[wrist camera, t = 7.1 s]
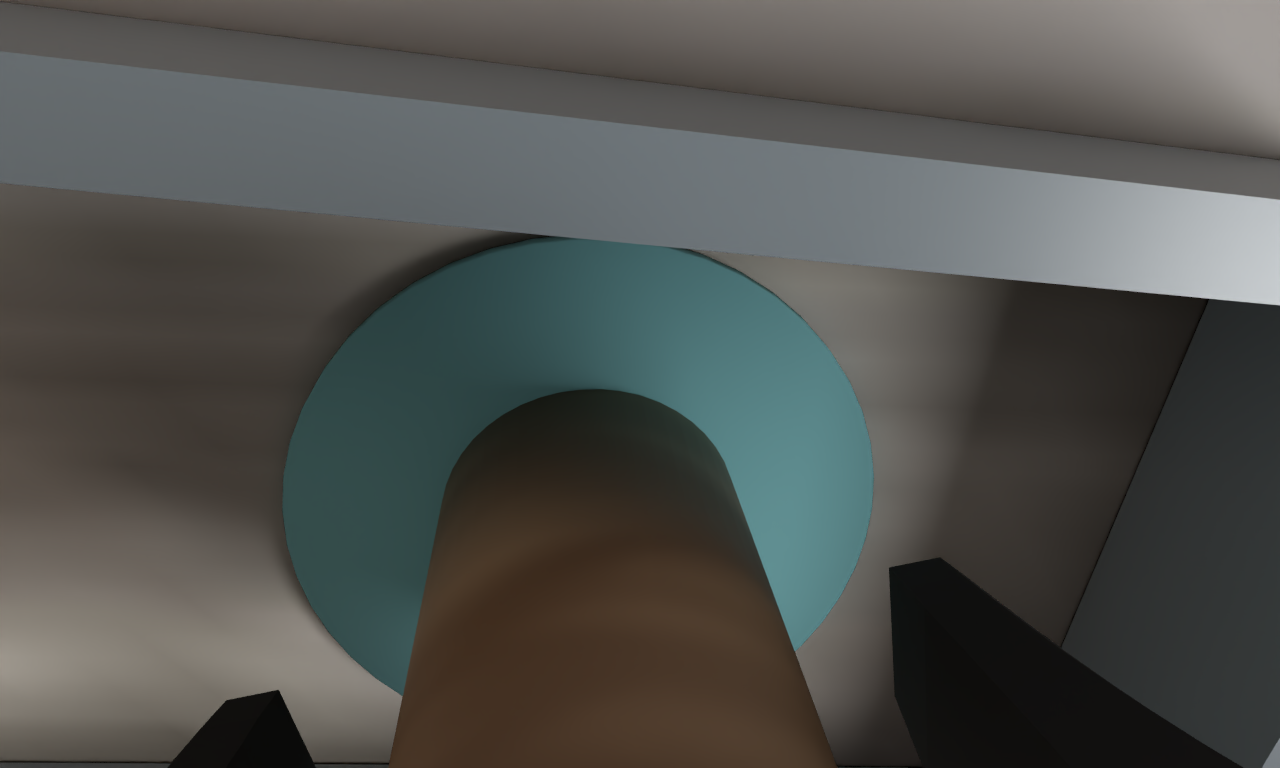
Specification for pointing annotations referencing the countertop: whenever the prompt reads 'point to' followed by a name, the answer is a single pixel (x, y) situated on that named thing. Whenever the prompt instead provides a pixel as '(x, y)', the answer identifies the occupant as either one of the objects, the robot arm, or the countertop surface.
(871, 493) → the pad
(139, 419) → the countertop surface
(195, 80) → the grey angular frame piece
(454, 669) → the walnut cylinder
